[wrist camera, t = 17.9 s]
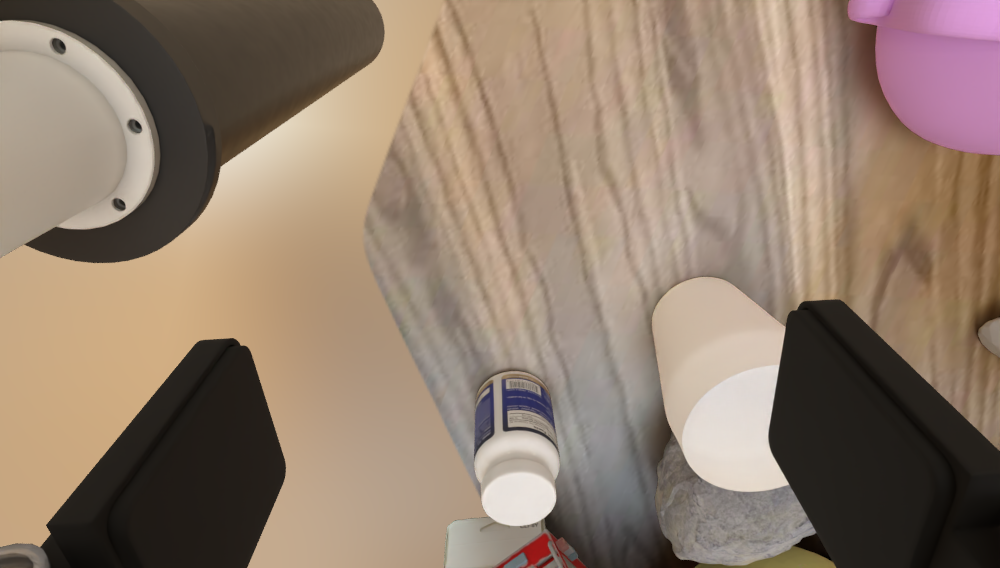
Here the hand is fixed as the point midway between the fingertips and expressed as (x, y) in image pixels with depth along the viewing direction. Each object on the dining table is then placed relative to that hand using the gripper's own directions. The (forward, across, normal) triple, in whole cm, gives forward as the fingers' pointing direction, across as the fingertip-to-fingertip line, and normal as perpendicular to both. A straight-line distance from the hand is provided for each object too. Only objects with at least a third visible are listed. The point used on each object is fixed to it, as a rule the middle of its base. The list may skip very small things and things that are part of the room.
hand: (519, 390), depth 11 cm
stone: (+20, -17, +30) cm, 40 cm away
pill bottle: (+28, +1, +22) cm, 36 cm away
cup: (+28, -12, +16) cm, 35 cm away
